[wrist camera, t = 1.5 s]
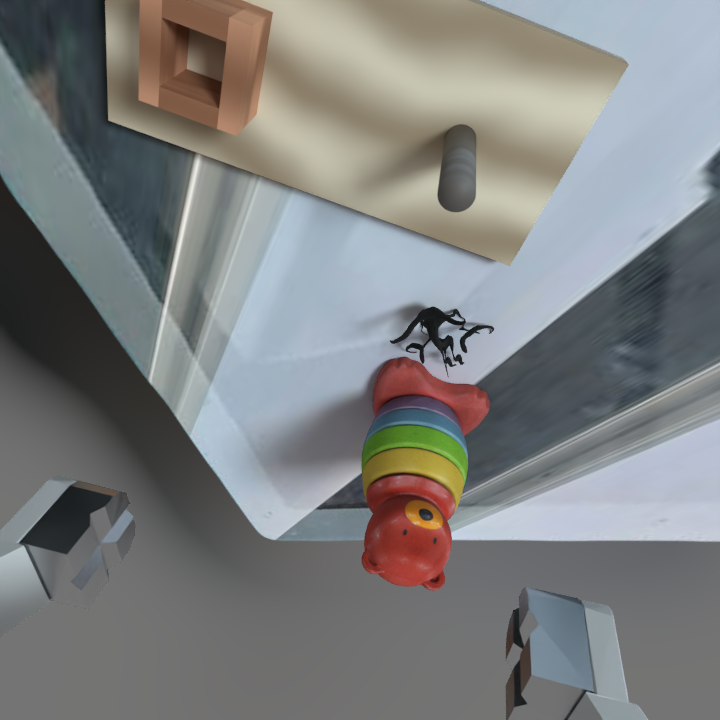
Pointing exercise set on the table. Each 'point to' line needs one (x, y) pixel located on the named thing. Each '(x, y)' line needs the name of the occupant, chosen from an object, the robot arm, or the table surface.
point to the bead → (193, 90)
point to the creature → (432, 323)
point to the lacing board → (396, 110)
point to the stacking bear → (415, 471)
